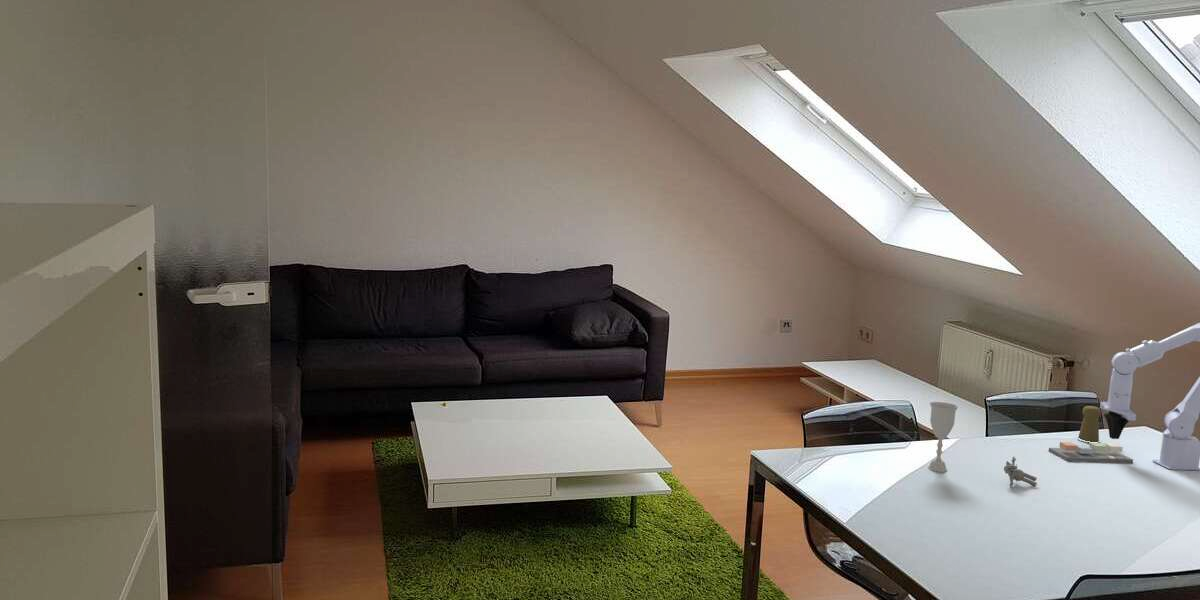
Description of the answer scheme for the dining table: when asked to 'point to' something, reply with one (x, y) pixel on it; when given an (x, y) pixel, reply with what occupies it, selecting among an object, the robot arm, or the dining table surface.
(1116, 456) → the keypad base
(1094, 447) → the key sage
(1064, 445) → the key terracotta
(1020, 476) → the toy figurine
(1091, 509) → the dining table surface
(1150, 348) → the robot arm
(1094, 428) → the cork
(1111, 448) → the key cream
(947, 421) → the chalice
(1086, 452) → the key blue
